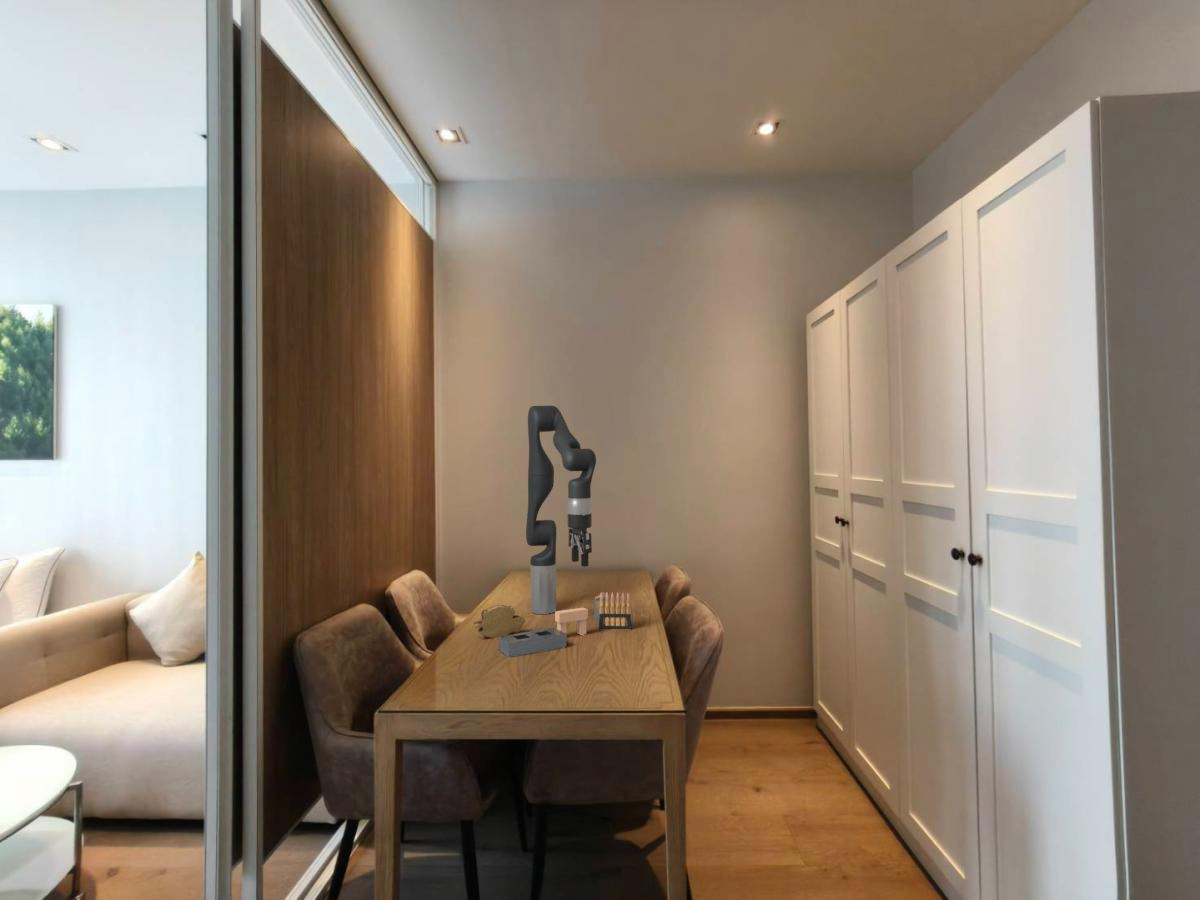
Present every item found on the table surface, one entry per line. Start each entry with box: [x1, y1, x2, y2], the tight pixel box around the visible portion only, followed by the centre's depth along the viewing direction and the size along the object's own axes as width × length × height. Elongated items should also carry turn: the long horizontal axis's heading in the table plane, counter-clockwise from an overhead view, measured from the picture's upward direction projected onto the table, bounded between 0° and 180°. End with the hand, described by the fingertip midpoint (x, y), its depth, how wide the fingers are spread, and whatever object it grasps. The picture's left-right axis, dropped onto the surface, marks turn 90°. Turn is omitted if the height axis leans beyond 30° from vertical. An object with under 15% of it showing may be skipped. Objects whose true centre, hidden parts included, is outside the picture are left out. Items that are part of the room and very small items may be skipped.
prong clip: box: [554, 607, 589, 639], centre depth 201 cm, size 3×10×8 cm, turn 120°
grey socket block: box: [498, 627, 567, 658], centre depth 188 cm, size 8×18×4 cm, turn 120°
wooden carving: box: [473, 604, 526, 639], centre depth 201 cm, size 16×5×10 cm, turn 123°
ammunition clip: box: [598, 591, 633, 630], centre depth 209 cm, size 11×2×12 cm, turn 84°
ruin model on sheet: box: [593, 592, 607, 620], centre depth 225 cm, size 11×3×10 cm, turn 168°
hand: (579, 563), depth 201 cm, fingers open, 8 cm apart
